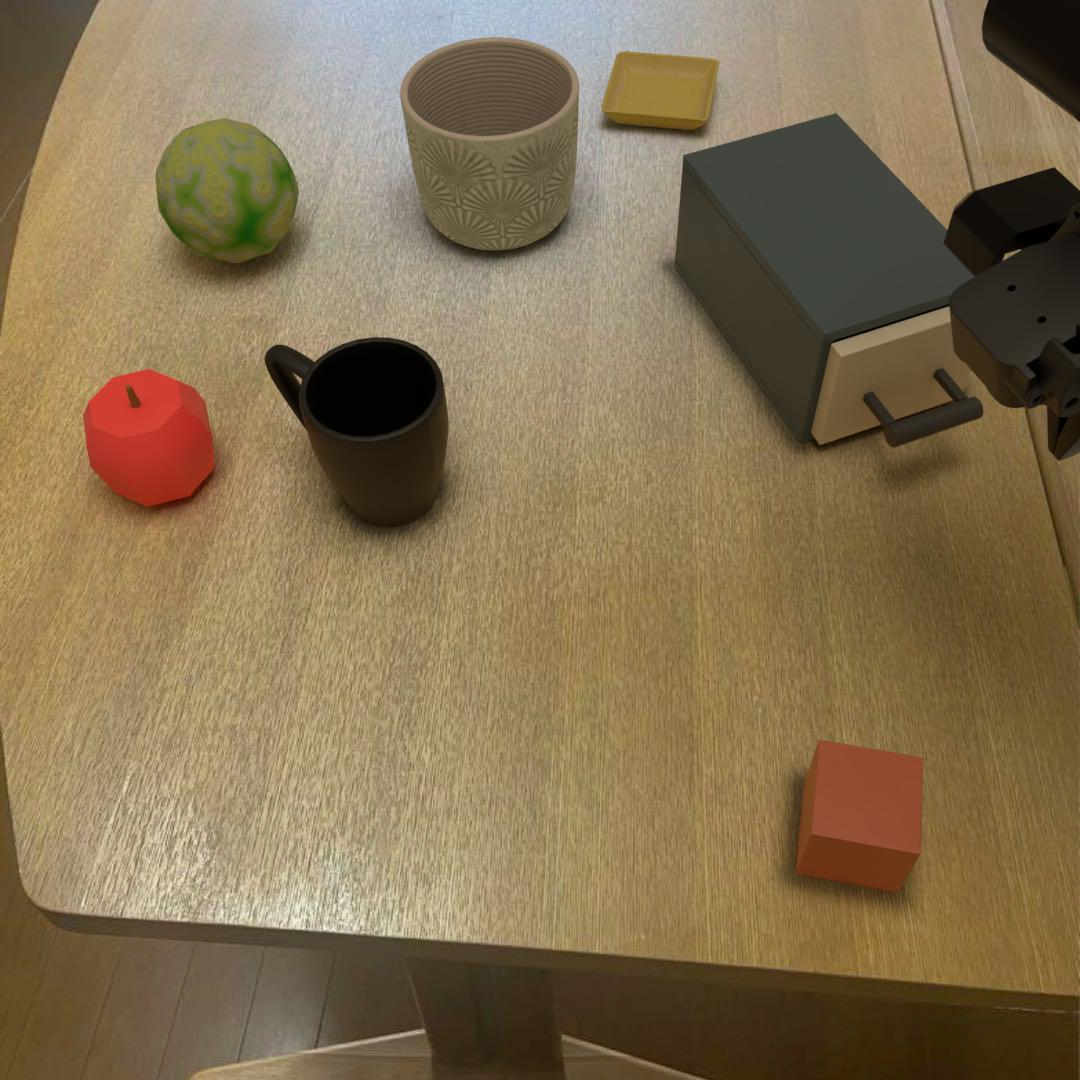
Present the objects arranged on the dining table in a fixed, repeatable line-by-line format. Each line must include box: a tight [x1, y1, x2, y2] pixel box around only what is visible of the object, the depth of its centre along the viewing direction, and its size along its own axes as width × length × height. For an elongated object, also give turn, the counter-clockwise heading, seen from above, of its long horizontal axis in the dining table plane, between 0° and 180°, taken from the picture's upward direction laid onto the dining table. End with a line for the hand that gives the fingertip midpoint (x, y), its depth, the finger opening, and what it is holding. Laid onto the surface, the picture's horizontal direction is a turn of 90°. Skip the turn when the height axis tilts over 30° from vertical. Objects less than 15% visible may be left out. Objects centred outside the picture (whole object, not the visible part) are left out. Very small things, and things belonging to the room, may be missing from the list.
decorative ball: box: [155, 117, 300, 264], centre depth 85 cm, size 10×10×10 cm
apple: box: [82, 368, 216, 508], centre depth 73 cm, size 8×8×8 cm
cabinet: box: [674, 112, 976, 445], centre depth 79 cm, size 19×12×10 cm, turn 22°
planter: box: [399, 36, 580, 252], centre depth 86 cm, size 12×12×11 cm
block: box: [795, 739, 924, 894], centre depth 58 cm, size 5×5×5 cm
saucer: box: [600, 50, 721, 131], centre depth 98 cm, size 9×9×2 cm
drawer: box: [811, 304, 984, 448], centre depth 77 cm, size 22×10×8 cm, turn 22°
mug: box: [264, 336, 450, 528], centre depth 72 cm, size 8×12×10 cm
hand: (1061, 453), depth 58 cm, fingers closed
